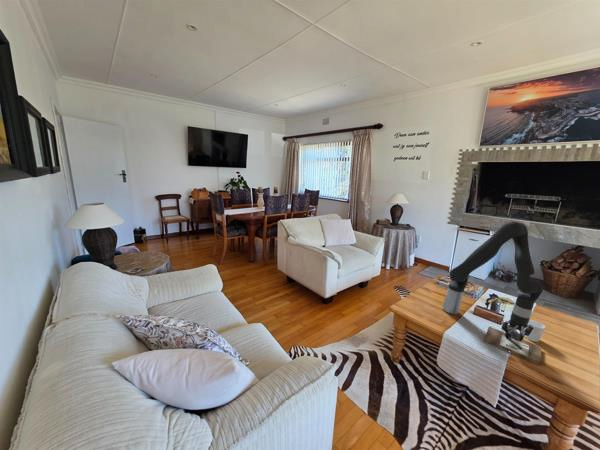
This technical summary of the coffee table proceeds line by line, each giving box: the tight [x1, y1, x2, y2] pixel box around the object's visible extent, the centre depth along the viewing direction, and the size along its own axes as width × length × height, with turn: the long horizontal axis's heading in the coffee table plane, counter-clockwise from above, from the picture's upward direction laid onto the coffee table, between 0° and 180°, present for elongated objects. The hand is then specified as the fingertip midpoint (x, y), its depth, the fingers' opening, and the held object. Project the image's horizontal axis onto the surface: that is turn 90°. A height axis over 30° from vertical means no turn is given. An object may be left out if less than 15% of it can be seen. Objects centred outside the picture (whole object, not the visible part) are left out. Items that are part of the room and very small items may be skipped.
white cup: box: [524, 319, 546, 343], centre depth 146 cm, size 8×8×10 cm
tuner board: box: [483, 326, 542, 366], centre depth 140 cm, size 24×16×2 cm, turn 46°
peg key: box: [500, 324, 522, 349], centre depth 140 cm, size 14×2×7 cm, turn 0°
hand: (513, 339), depth 139 cm, fingers open, 5 cm apart
